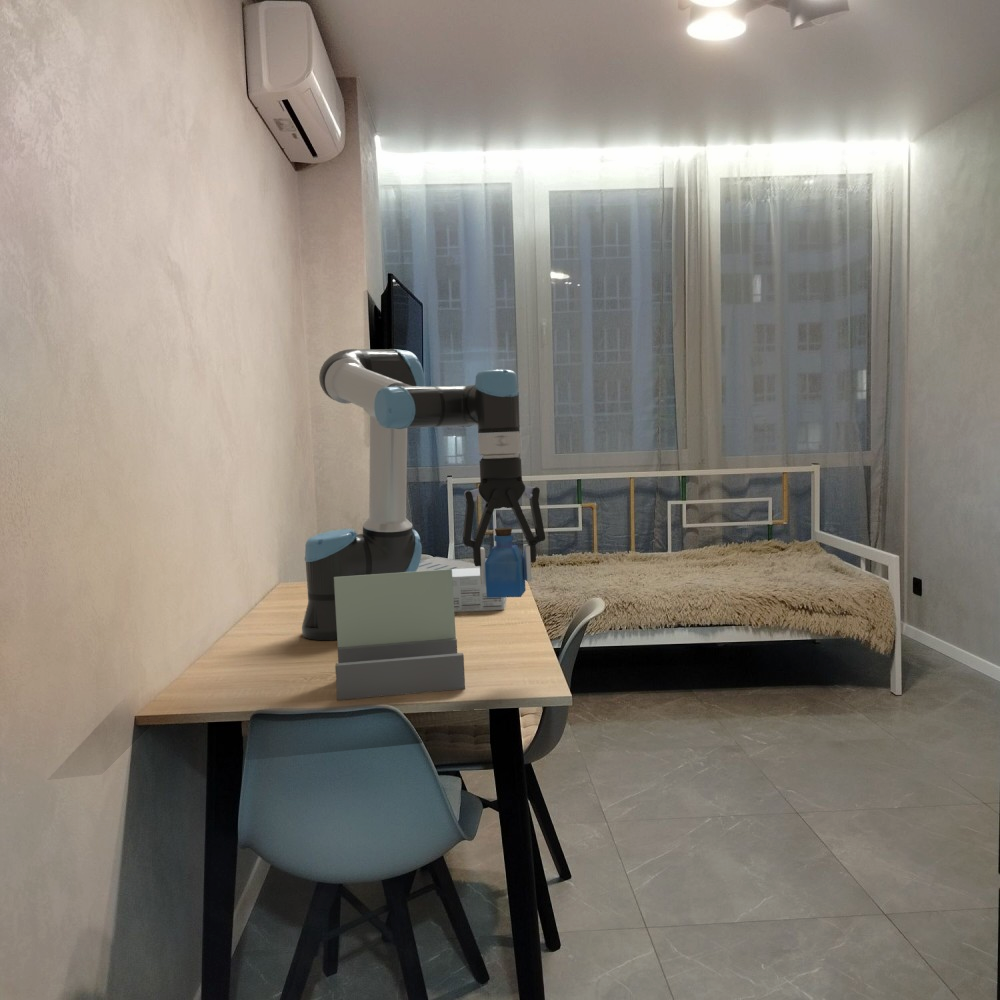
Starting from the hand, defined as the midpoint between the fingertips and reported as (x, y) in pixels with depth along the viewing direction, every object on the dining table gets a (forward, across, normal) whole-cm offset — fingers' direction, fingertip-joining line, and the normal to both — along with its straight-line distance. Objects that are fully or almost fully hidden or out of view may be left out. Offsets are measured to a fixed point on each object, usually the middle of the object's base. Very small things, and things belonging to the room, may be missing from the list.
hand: (505, 581), depth 157 cm
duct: (+17, -20, 0) cm, 26 cm away
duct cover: (+5, -20, +7) cm, 22 cm away
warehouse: (+18, -4, +94) cm, 96 cm away
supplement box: (+17, +1, +66) cm, 68 cm away
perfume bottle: (+2, 0, 0) cm, 2 cm away
